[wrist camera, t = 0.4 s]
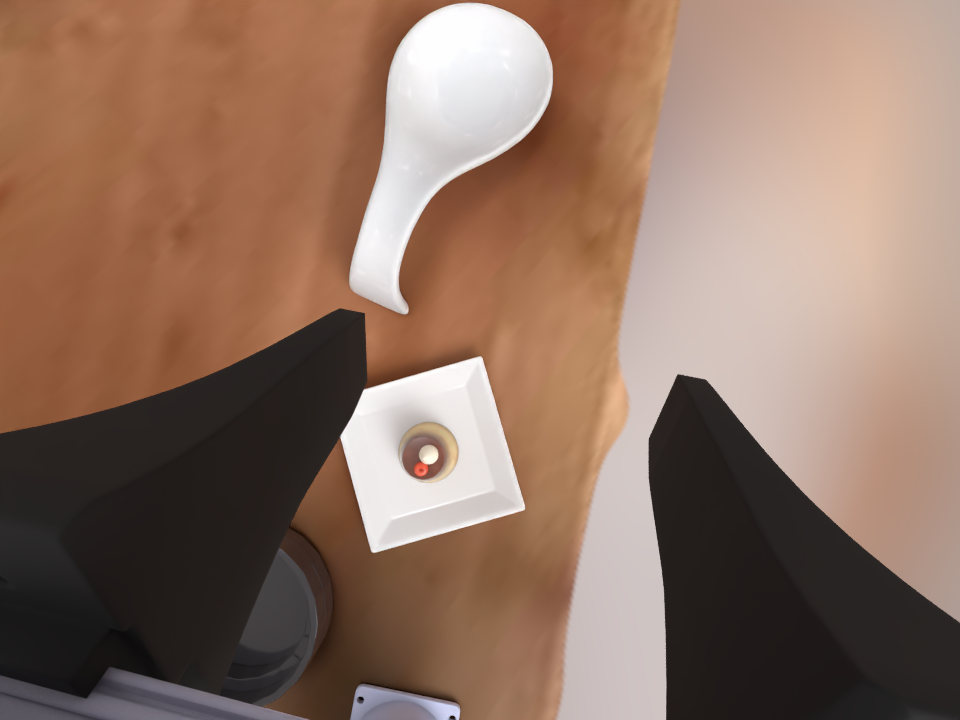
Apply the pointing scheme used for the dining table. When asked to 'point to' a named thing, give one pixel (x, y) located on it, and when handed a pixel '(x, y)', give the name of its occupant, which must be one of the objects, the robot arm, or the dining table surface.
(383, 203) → the spoon rest
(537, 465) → the dining table surface
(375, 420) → the dessert
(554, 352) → the dining table surface
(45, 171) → the dining table surface
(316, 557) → the pan
